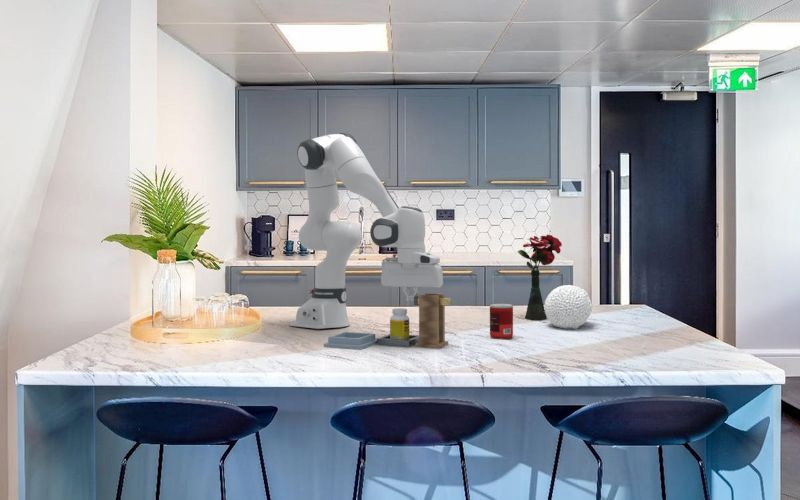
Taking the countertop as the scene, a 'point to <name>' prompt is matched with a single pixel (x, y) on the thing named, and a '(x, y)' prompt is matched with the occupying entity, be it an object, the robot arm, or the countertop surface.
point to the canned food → (501, 321)
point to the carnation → (545, 257)
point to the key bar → (441, 301)
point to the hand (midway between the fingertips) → (411, 301)
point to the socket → (398, 341)
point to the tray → (351, 340)
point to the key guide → (431, 321)
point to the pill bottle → (399, 324)
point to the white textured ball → (568, 307)
